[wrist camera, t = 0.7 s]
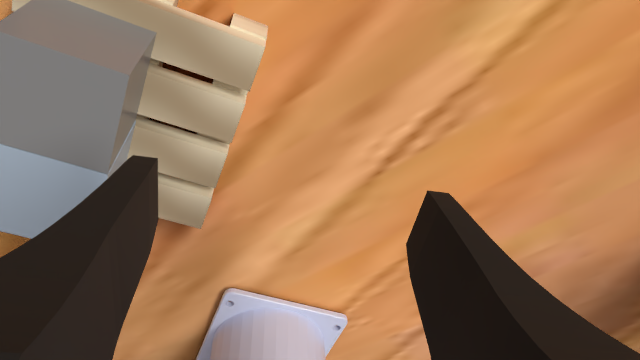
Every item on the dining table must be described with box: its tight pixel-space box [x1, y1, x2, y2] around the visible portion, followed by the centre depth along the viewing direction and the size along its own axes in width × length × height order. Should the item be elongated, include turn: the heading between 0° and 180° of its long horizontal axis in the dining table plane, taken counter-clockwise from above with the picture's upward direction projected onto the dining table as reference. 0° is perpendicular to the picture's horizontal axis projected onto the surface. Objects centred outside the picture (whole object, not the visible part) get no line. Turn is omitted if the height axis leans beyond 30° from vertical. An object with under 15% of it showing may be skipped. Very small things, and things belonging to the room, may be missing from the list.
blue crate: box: [0, 121, 136, 239], centre depth 20 cm, size 4×4×4 cm
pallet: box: [12, 0, 268, 229], centre depth 22 cm, size 10×9×3 cm
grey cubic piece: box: [0, 0, 156, 174], centre depth 18 cm, size 4×4×4 cm
